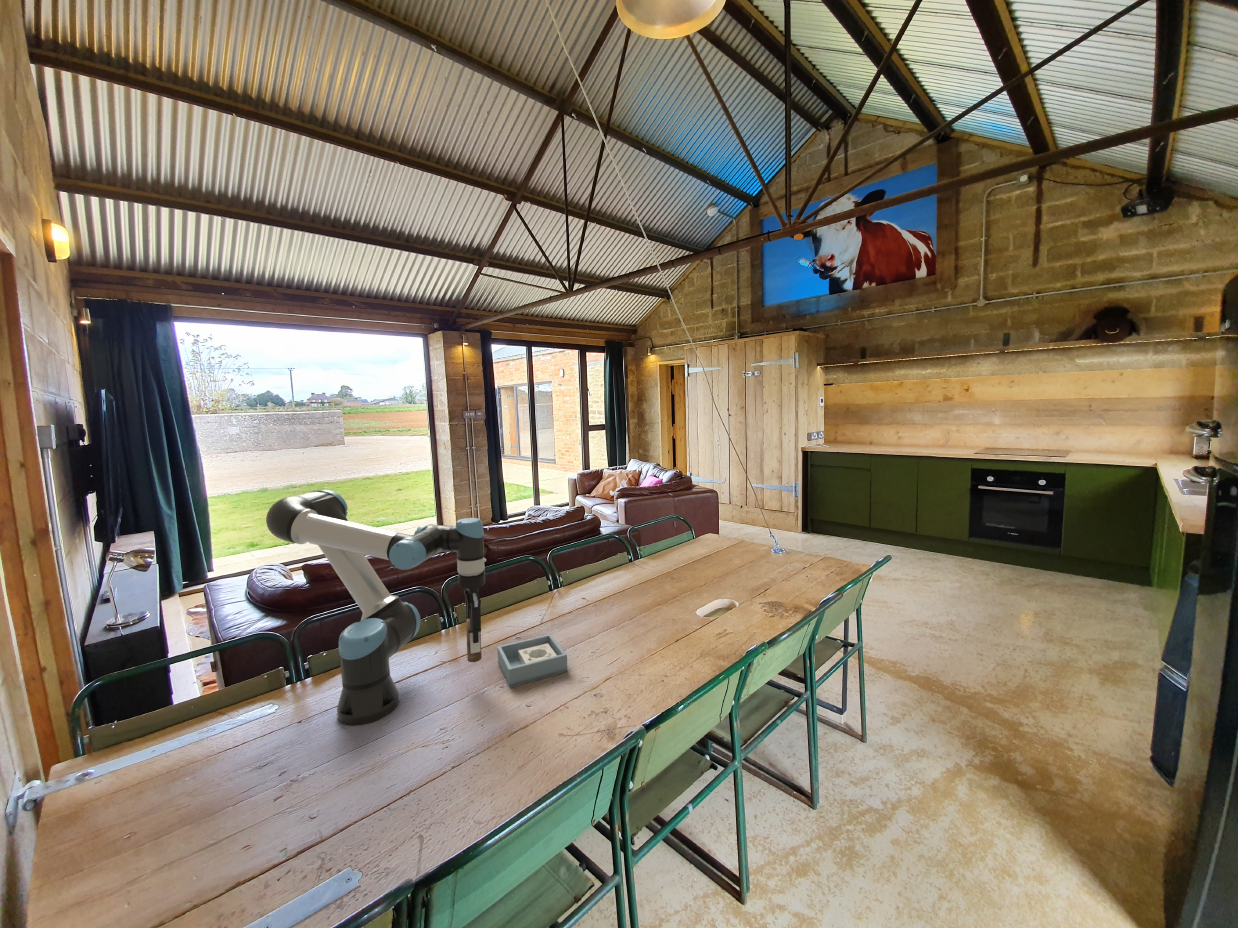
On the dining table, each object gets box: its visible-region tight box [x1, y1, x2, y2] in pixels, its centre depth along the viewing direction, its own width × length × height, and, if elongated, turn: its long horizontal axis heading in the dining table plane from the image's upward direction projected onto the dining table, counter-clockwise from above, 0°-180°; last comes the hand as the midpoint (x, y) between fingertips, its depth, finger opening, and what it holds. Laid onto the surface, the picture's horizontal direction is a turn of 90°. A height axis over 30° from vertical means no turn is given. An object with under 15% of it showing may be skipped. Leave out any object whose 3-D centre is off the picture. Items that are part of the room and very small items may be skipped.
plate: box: [518, 643, 557, 664], centre depth 153 cm, size 10×10×3 cm
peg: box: [465, 618, 483, 663], centre depth 142 cm, size 4×4×12 cm
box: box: [496, 633, 568, 688], centre depth 152 cm, size 18×16×6 cm
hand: (474, 648), depth 142 cm, fingers closed on peg, 4 cm apart
